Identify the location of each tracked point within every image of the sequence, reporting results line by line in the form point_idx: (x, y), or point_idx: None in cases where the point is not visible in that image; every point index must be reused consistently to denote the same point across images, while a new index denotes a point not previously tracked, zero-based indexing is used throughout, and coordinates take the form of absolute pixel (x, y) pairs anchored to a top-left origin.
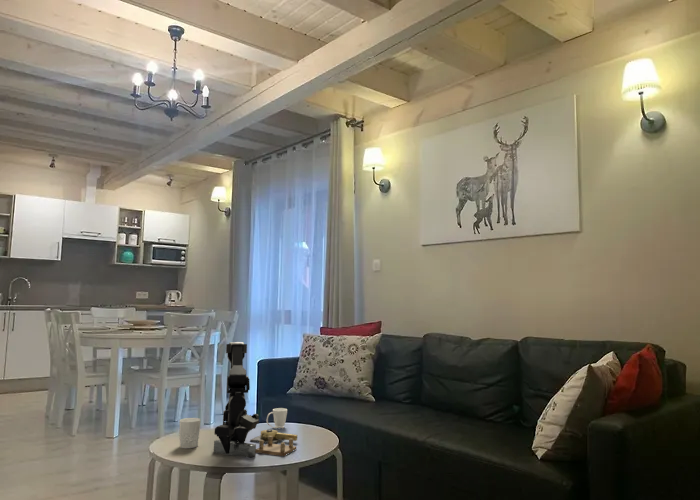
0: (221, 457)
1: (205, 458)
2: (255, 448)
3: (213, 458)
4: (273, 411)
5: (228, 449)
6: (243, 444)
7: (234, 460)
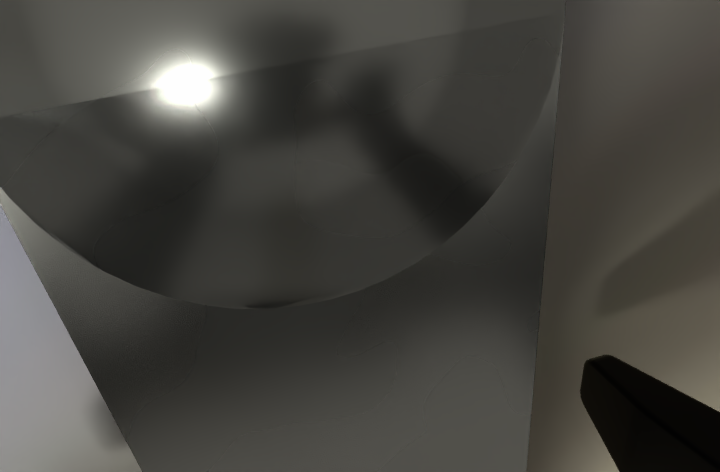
0: None
1: None
2: None
3: None
4: None
5: (700, 404)
6: (404, 392)
7: (715, 67)
